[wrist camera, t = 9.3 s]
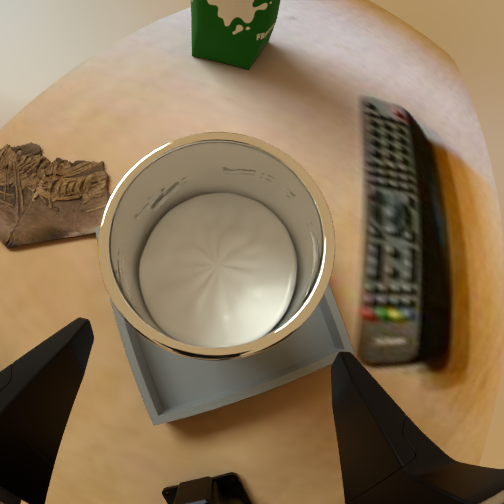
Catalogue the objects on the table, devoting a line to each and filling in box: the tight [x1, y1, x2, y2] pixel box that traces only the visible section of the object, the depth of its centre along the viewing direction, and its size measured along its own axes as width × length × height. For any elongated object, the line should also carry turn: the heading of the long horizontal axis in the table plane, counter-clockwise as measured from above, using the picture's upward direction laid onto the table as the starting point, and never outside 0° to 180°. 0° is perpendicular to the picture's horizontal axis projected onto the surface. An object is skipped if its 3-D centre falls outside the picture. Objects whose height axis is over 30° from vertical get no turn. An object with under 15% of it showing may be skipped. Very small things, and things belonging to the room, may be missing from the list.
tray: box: [95, 225, 354, 425], centre depth 22 cm, size 15×15×2 cm
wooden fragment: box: [0, 143, 111, 248], centre depth 23 cm, size 26×11×1 cm, turn 72°
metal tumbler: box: [98, 132, 335, 361], centre depth 15 cm, size 7×7×15 cm
